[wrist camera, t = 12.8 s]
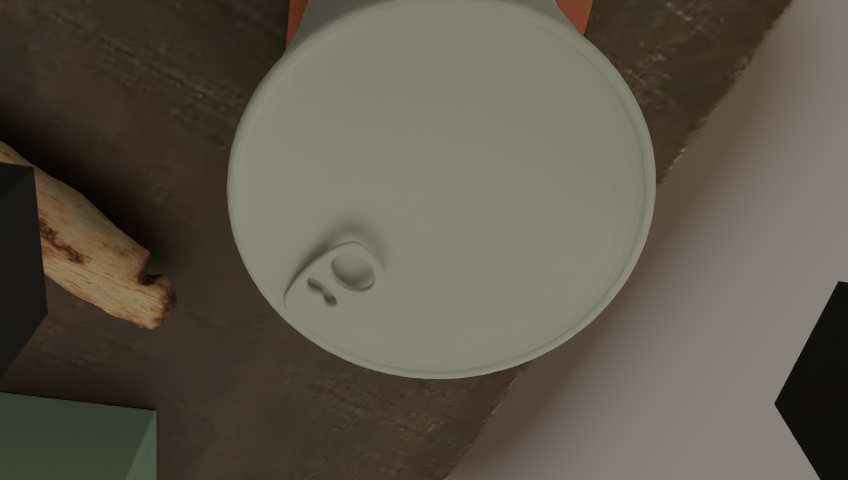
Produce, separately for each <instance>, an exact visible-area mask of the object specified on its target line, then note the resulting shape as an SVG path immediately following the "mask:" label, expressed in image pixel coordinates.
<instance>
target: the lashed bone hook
mask: <svg viewBox="0 0 848 480" xmlns="http://www.w3.org/2000/svg"><path fill="white" fill-rule="evenodd" d="M0 162H3V163H10V164H17V165H24V166H31V167H34V174H35V184H36V195H37V205H38V216H39V226H40V236H41V247H42V257H43V267H44V274H45V275H47V276H48V277H50V278H51V279H53V280H54V281H55V282H57V283H58V284H60V285H61V286H62V287H63V288H64V289H66V290H67V291H69V292H71V293H72V294H74V295H76V296H78V297H79V298H81V299H84V300H86V301H88V302H91V303H94V304H95V306H99V307H100V308H102V309H103V310H104V311H106V312H107V313H110V314H111V315H113V316H116V317H121V318H123V319H126V320H128V321H129V322H131V323H134V324H137V325H139V326H140V328H145V329H154V328H156V327H158V326H160V325H161V324H162V322H163V318H164V317H166V316H168V315H169V314H171V313H172V312H173V310H174V309H175V306H176V305H177V296H176V292H175V289H174V287H173V285H172V283H171V281H170V280H169V278H167V277H166V276H165V275H149V274H147V272H146V269H147V265H148V263H149V261H150V252H149V251H148V250H147V249H145V248H143V247H141V246H140V245H139V244H138V243H137V242H135V241H134V240H133V239H132V238H130V237H129V236H128V235H126V234H125V233H124V232H123V231H122V230H120V229H118V228H117V227H116V226H115V225H114V224H113V223H112V222H111V221H110V220H108V219H107V217H106V216H105V215H104V214H103V213H102V212H101V211H99V210H98V209H97V208H96V207H95V206H94V205H93V204H92V203H91V202H90V201H89V200H88V199H86V198H85V197H84V195H83V194H82V193H80V192H78V191H76V190H75V189H73V188H71V187H70V186H68V185H66V184H65V183H63V182H61V181H59V180H57V179H55V178H53V177H51V176H49V175H48V174H46V173H45V172H43V171H42V170H41V169H39V168H38V167H37V166H35V165H33V164H31V163H30V162H28V161H27V160H25V159H24V158H23V157H21V156H20V155H19V154H18V153H17V152H16V151H15V150H14V149H13V148H11V147H10V146H9V145H7V144H6V143H4V142H2V141H0Z"/></svg>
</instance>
